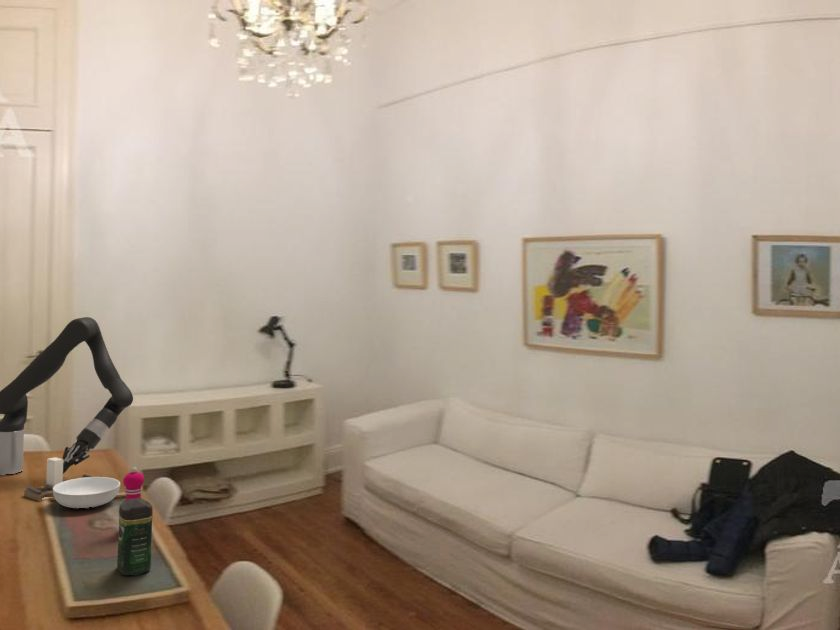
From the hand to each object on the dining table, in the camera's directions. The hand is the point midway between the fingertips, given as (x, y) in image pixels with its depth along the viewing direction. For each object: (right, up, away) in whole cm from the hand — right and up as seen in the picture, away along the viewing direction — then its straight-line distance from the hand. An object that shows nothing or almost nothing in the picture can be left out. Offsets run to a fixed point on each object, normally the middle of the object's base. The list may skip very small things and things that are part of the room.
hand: (60, 472), depth 233 cm
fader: (-1, -5, -2) cm, 5 cm away
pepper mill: (+42, -10, -34) cm, 55 cm away
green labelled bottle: (+55, -11, -61) cm, 83 cm away
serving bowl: (+16, -9, -12) cm, 22 cm away
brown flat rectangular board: (0, -7, +1) cm, 7 cm away
